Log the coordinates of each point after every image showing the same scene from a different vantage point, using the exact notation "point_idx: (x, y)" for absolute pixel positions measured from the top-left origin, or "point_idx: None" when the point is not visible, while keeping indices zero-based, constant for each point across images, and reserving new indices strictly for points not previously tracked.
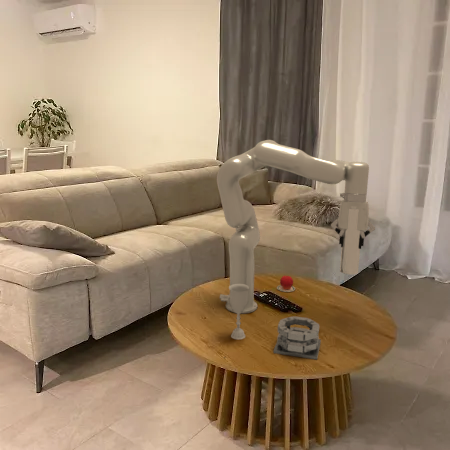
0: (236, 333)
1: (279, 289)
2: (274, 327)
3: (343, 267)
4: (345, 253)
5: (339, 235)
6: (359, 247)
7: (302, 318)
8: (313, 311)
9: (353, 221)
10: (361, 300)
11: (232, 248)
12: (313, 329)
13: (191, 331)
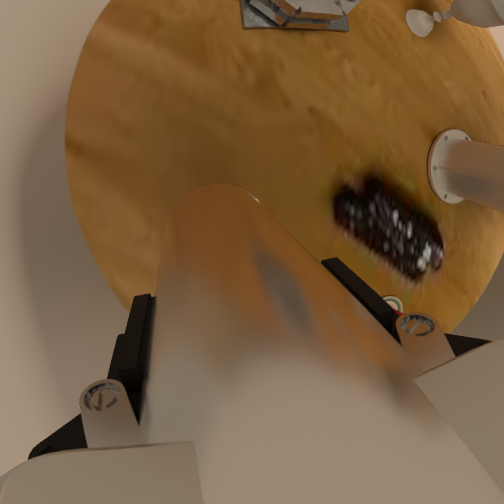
0: (423, 11)
1: (396, 301)
2: (370, 75)
3: (251, 196)
4: (269, 218)
5: (422, 315)
6: (151, 300)
7: (317, 6)
8: (301, 212)
9: None
10: None
11: None
12: None
13: (478, 36)
